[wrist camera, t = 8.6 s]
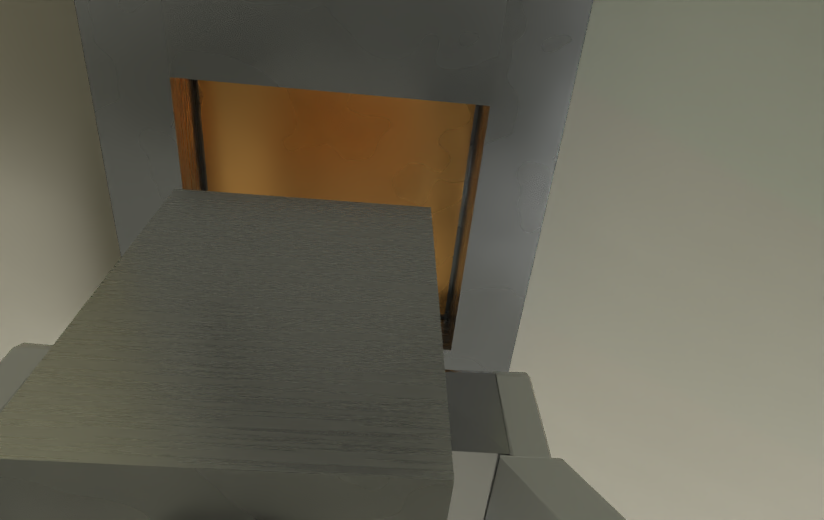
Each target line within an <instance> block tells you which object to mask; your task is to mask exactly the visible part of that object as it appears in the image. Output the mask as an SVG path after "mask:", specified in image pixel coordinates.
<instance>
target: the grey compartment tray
mask: <svg viewBox="0 0 824 520" xmlns="http://www.w3.org/2000/svg"><path fill="white" fill-rule="evenodd" d="M74 3H75V8H76V13H77V19H78V24H79V30H80V35H81V41H82V46H83V52H84V57H85V63H86V68H87V73H88V79H89V84H90V90H91V95H92V101H93V106H94V112H95V117H96V123H97V128H98V133H99V139H100V144H101V150H102V155H103V161H104V166H105V172H106V177H107V183H108V188H109V193H110V199H111V204H112V210H113V215H114V221H115V226H116V232H117V237H118V243H119V248H120V253H121V257H122V256H123V254H124V253H125V252H126V251H127V249H128V248H129V247H130V245H131V244H132V243H133V242H134V240H135V239H136V238H137V236H138V235H139V234H140V232H141V231H142V230H143V229H144V227H145V226H146V225H147V223H148V222H149V221H150V220H151V218H152V217H153V216H154V214H155V213H156V212H157V211H158V209H159V208H160V207H161V205H162V204H163V203H164V202H165V200H166V199H167V198H168V196H169V195H170V194H171V193H172V191H173V190H174V189H185V190H199V191H213V192H226V193H240V194H254V195H268V196H282V197H295V198H309V199H323V200H337V201H350V202H364V203H378V204H392V205H405V206H419V207H431V215H432V226H433V238H434V250H435V261H436V273H437V285H438V296H439V308H440V320H441V331H442V343H443V354H444V366H445V369H447V370H467V371H486V372H493V371H499V372H509V367H510V363H511V358H512V354H513V350H514V345H515V341H516V337H517V332H518V328H519V323H520V319H521V315H522V310H523V306H524V302H525V297H526V293H527V288H528V284H529V280H530V275H531V271H532V267H533V262H534V258H535V253H536V249H537V245H538V240H539V236H540V232H541V227H542V223H543V218H544V214H545V210H546V205H547V201H548V197H549V192H550V188H551V183H552V179H553V175H554V170H555V166H556V162H557V157H558V153H559V148H560V144H561V140H562V135H563V131H564V127H565V122H566V118H567V113H568V109H569V105H570V100H571V96H572V92H573V87H574V83H575V78H576V74H577V70H578V65H579V61H580V57H581V52H582V48H583V43H584V39H585V35H586V30H587V26H588V22H589V17H590V13H591V8H592V4H593V0H74Z"/></svg>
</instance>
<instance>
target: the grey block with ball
mask: <svg viewBox="0 0 824 520" xmlns="http://www.w3.org/2000/svg"><path fill="white" fill-rule="evenodd" d="M453 485H454V471H453V459H452V448H451V436H450V424H449V413H448V401H447V389H446V378H445V366H444V354H443V343H442V331H441V320H440V308H439V296H438V285H437V273H436V261H435V250H434V238H433V226H432V215H431V207H419V206H405V205H392V204H378V203H364V202H350V201H337V200H323V199H309V198H295V197H282V196H268V195H254V194H240V193H226V192H213V191H199V190H185V189H174V190H173V191H172V193H171V194H170V195H169V196H168V198H167V199H166V200H165V202H164V203H163V204H162V205H161V207H160V208H159V209H158V211H157V212H156V213H155V214H154V216H153V217H152V218H151V220H150V221H149V222H148V223H147V225H146V226H145V227H144V229H143V230H142V231H141V232H140V234H139V235H138V236H137V238H136V239H135V240H134V242H133V243H132V244H131V245H130V247H129V248H128V249H127V251H126V252H125V253H124V254H123V256H122V257H121V258H120V260H119V261H118V262H117V263H116V265H115V266H114V267H113V269H112V270H111V271H110V272H109V274H108V275H107V276H106V278H105V279H104V280H103V281H102V283H101V284H100V285H99V287H98V288H97V289H96V290H95V292H94V293H93V294H92V296H91V297H90V298H89V300H88V301H87V302H86V303H85V305H84V306H83V307H82V309H81V310H80V311H79V312H78V314H77V315H76V316H75V318H74V319H73V320H72V321H71V323H70V324H69V325H68V327H67V328H66V329H65V330H64V332H63V333H62V334H61V336H60V337H59V338H58V339H57V341H56V342H55V343H54V345H53V346H52V347H51V348H50V350H49V351H48V352H47V354H46V355H45V356H44V357H43V359H42V360H41V361H40V363H39V364H38V365H37V367H36V368H35V369H34V370H33V372H32V373H31V374H30V376H29V377H28V378H27V379H26V381H25V382H24V383H23V385H22V386H21V387H20V388H19V390H18V391H17V392H16V394H15V395H14V396H13V397H12V399H11V400H10V401H9V403H8V404H7V405H6V406H5V408H4V409H3V410H2V412H1V413H0V520H447V518H448V513H449V507H450V502H451V496H452V491H453Z"/></svg>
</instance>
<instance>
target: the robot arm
mask: <svg viewBox="0 0 824 520" xmlns="http://www.w3.org/2000/svg"><path fill="white" fill-rule="evenodd" d="M52 346H53V345H43V344H31V343H23V344H20V345H18V346H16V347H13V348H12V349H11V350H10V351H9V353H8V354H7V355H6V356H5V357H4V358H3V359H2V361H1V362H0V413H1V412H2V410H3V409H4V408H5V406H6V405H7V404H8V403H9V401H10V400H11V399H12V397H13V396H14V395H15V394H16V392H17V391H18V390H19V388H20V387H21V386H22V385H23V383H24V382H25V381H26V379H27V378H28V377H29V376H30V374H31V373H32V372H33V370H34V369H35V368H36V367H37V365H38V364H39V363H40V361H41V360H42V359H43V357H44V356H45V355H46V354H47V352H48V351H49V350H50V348H51V347H52ZM445 378H446V389H447V401H448V413H449V424H450V436H451V448H452V459H453V471H454V485H453V491H452V496H451V502H450V507H449V513H448V518H447V520H626V519H625V518H624V517H623V516H622V515H621V514H620V513H619V512H618V511H616V510H615V509H614V508H613V507H612V506H611V505H610V504H609V503H608V502H607V501H606V500H605V499H604V498H603V497H602V496H601V495H600V494H599V493H598V492H597V491H595V490H594V489H593V488H592V487H591V486H590V485H589V484H588V483H587V482H586V481H585V480H584V479H583V478H582V477H581V476H580V475H579V474H578V473H577V472H575V471H574V470H573V469H572V468H571V467H570V466H569V465H568V464H567V463H566V462H565V461H564V460H563V459H560V458H551V454H550V450H549V446H548V443H547V439H546V435H545V431H544V428H543V424H542V420H541V416H540V413H539V409H538V405H537V402H536V398H535V394H534V390H533V387H532V383H531V379H530V377H529V375H528V374H527V373H525V372H499V371H493V372H486V371H467V370H447V369H445Z"/></svg>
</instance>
